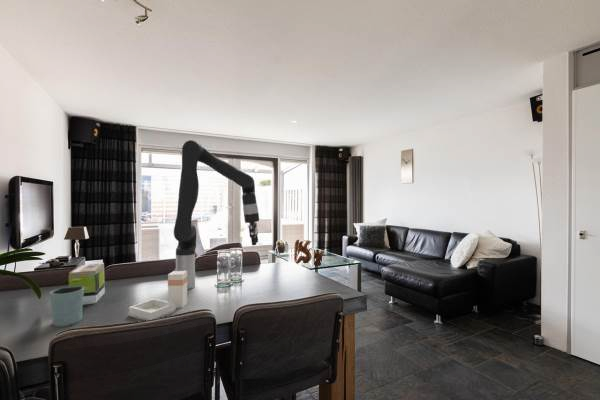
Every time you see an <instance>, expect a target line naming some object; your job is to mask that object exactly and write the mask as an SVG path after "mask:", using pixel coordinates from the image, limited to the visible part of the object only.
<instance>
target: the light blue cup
mask: <svg viewBox="0 0 600 400" xmlns="http://www.w3.org/2000/svg"><path fill="white" fill-rule="evenodd" d="M83 295H84V287H83V286H70V287H69V286H65V287H64V286H63V287H59V288H56V289H53V290H51V291H49V296H50V297H49V298H50V304H51V314H52V324H53V325H52V326H54V327H66V326H67V327H68V326H71V324H72V325H75V324H77V323H79V322H80V321H82V319H83V307H84V305H83Z"/></svg>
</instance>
